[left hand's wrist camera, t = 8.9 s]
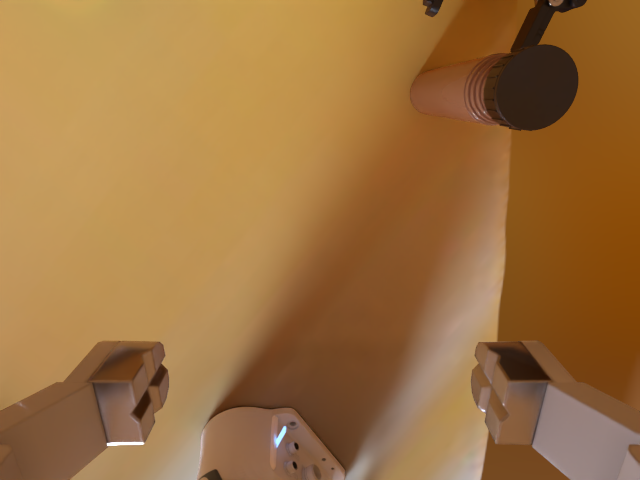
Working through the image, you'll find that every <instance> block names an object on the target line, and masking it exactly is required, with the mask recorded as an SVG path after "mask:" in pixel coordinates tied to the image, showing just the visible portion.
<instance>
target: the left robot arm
mask: <svg viewBox="0 0 640 480" xmlns="http://www.w3.org/2000/svg"><path fill="white" fill-rule="evenodd" d="M164 357H165V351H164V346H163V344H162V343H161V342H150V341H101V342H98V343H97V344H96V345H95V346H94V348H93V349H92V350H91V351H90V352H89V353H88V354H87V356H86V357H85V358H84V359H83V360H82V361H81V362H80V364H79V365H78V366H77V367H76V368H75V369H74V370H73V372H72V373H71V374H70V375H69V376H68V377H67V378H66V380H65V381H64V382H56V383H54V384H52V385H51V386H49V387H47V388H45V389H43V390H41V391H39V392H37V393H35V394H33V395H31V396H29V397H27V398H25V399H23V400H21V401H19V402H17V403H15V404H13V405H11V406H9V407H7V408H5V409H3V410H1V411H0V480H70V479H71V478H72V477H73V476H74V475H76V474H77V473H78V472H79V471H80V470H81V469H83V468H84V467H85V466H86V465H87V464H88V463H90V462H91V461H92V460H93V459H94V458H96V457H97V456H98V455H99V454H100V453H101V452H103V451H104V450H105V449H106V448H107V447H108V445H125V444H144V443H145V441H146V439H147V437H148V435H149V433H150V431H151V429H152V427H153V425H154V423H155V417H154V413H156V412H157V411H158V410H160V409H161V408H162V407H163V405H164V403H165V401H166V398H167V393H168V389H169V375H168V370H167V369H166V368H165V367H164V366H163V365H162V364H161V363H162V361H163V359H164ZM475 357H476V359H477V361H478V363H479V364H478V365H477V366H476V367H475V368H474V369H473V370H472V376H471V388H472V394H473V398H474V401H475V403H476V405H477V407H478V408H479V409H480V410H482V411H483V412H484V413H486V417H485V423H486V425H487V427H488V429H489V431H490V433H491V435H492V437H493V439H494V441H495V443H496V444H514V445H532V447H533V448H534V449H535V450H536V451H538V452H539V453H540V454H541V455H542V456H543V457H545V458H546V459H547V460H548V461H549V462H551V463H552V464H553V465H554V466H555V467H556V468H558V469H559V470H560V471H561V472H562V473H563V474H565V475H566V476H567V477H568V478H569V479H570V480H640V411H638V410H636V409H634V408H633V407H631V406H629V405H627V404H625V403H623V402H621V401H619V400H617V399H615V398H613V397H611V396H609V395H607V394H605V393H603V392H601V391H599V390H597V389H595V388H593V387H591V386H589V385H588V384H586V383H583V382H576V381H575V380H574V378H573V377H572V376H571V375H570V374H569V373H568V372H567V370H566V369H565V368H564V367H563V366H562V365H561V364H560V362H559V361H558V360H557V359H556V358H555V357H554V356H553V354H552V353H551V352H550V351H549V350H548V349H547V348H546V346H545V345H544V344H543V343H542V342H539V341H518V342H479V343H478V345H477V347H476V351H475ZM344 479H345V470H344V468H343V467H342V466H341V464H340V463H339V462H338V461H337V460H336V458H335V457H334V456H333V455H332V454H331V452H330V451H329V450H328V449H327V448H326V446H325V445H324V444H323V443H322V442H321V440H320V439H319V438H318V437H317V436H316V434H315V433H314V432H313V431H312V430H311V428H310V427H309V426H308V425H307V424H306V422H305V421H304V420H303V419H302V418H301V416H300V415H299V414H298V413H297V412H296V411H295V410H294V409H292V408H278V409H272V410H271V409H263V408H257V407H238V408H233V409H229V410H226V411H224V412H221V413H219V414H218V415H216V416H215V417H213V418H212V419H211V420H210V421H209V422H208V423H207V425H206V426H205V428H204V430H203V432H202V435H201V455H200V464H199V470H198V475H197V480H344Z"/></svg>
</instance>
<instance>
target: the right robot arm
mask: <svg viewBox="0 0 640 480" xmlns="http://www.w3.org/2000/svg"><path fill="white" fill-rule="evenodd" d="M534 1H535V7H534V8H532V9H530V10H529V12H528V14H527V16H526V19H525V21H524V23H523V25H522V27H521V29H520V31H519V33H518V35H517V37H516V39H515V41H514V43H513V45H512V48H511V51H513V50H517V49H521V48H523V47H527V46H531V45H537V44H538V43H539V42H540V40H541V38H542V36H543V34H544V31H545V30H546V28H547V26H548V24H549V22H550V20H551V18H552V16H553V14H554V12H555V11H559V12H561V13H563V12H566V11H569V10H571V9H574V8H578V7H580V6H583V5H584V4H585V3H586V1H587V0H534ZM442 2H443V0H423V5H425V6H427V9H426V12H425V14H426V15H428V16H431V17H433V16H435V15H436V14H437V13H438V11H439V9H440V7H441V4H442Z"/></svg>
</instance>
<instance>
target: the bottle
mask: <svg viewBox="0 0 640 480" xmlns="http://www.w3.org/2000/svg"><path fill="white" fill-rule="evenodd" d="M505 55H507V54H505V53H500V54H494V55H490V56H485V57H481V58H477V59H473V60H469V61H465V62H461V63H457V64H453V65H449V66H445V67H441V68H437V69H433V70H429V71H426V72H423V73H422V74H420V75H419V76H418V77H417V78H416V79H415V80H414V82H413V84H412V86H411V90H410V99H411V102H412V104H413V106H414V108H415V109H416V110H417V111H419V112H420V113H423V114H427V115H432V116H438V117H444V118H450V119H456V120H462V121H467V122H473V123H479V124H485V125H499V123H497V122H496V121H494V120H492V118H491V116H490V115H489V113H488V112H487V111H486V107H485V104H484V101H483V99H484V96H483V93H484V90H483V88H484V86H485V82H486V79H487V78H486V77H487V76H488V74H489V73H490V71H491V69H492V68H493V66H494V65H495V64H496V63H497V62H498V61H499V60H500V59H501V57H503V56H505Z"/></svg>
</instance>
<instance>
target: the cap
mask: <svg viewBox="0 0 640 480" xmlns="http://www.w3.org/2000/svg"><path fill="white" fill-rule="evenodd" d="M486 78H487V79H486V82H485V86H484V88H483V90H484V93H483V96H484V99H483V101H484V104H485V107H486V111H487V112H488V113H489V115H490V116H491V118H492V120H494V121H496V122H497V123H499V125H500V126H505V127H509V129H514V130H520V131H521V130H529V131H532V130H538V129H542V128H545V127H547V126H550V125H551V124H553V123H555V122H556V121H557V120H559V119H560V118H561V117H562V116H563V115H564V114H565V113H566V112H567V110H568V109H569V107H570V106H571V104H572V103H573V101H574V98H575V96H576V92H577V88H578V72H577V68H576V65H575V63H574V61H573V59H572V58H571V57H570V55H569V54H568V53H566V52H565V51H564V50H562V49H561V48H559V47H556V46H553V45H531V46H527V47H523V48H521V49H517V50H513V51H511V53H509V54H507V55H505V56H503V57H501V59H500V60H499V61H498V62H497V63H496V64H495V65H494V66H493V68H492V69H491V71H490V73H489V74H488V76H487V77H486Z"/></svg>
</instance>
